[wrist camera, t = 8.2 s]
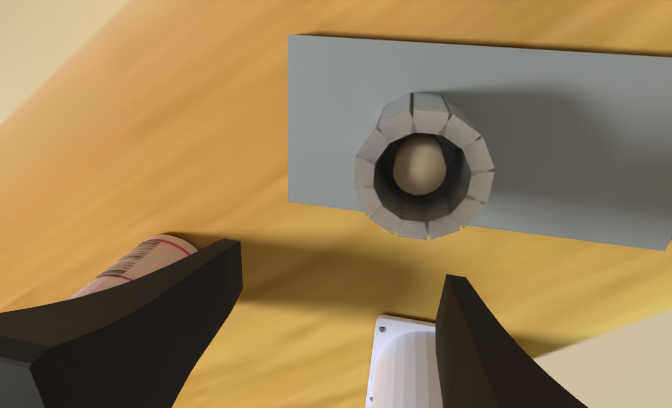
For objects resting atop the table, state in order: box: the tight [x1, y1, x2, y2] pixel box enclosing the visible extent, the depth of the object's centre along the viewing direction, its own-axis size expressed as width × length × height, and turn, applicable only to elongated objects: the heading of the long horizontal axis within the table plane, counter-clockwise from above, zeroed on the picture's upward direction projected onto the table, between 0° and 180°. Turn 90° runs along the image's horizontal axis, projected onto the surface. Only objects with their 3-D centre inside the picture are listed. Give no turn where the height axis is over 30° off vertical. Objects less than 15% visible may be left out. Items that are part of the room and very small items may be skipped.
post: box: [393, 132, 446, 195], centre depth 17 cm, size 2×2×4 cm
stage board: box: [288, 35, 672, 251], centre depth 19 cm, size 9×20×1 cm, turn 87°
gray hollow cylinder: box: [353, 92, 495, 240], centre depth 17 cm, size 5×5×5 cm
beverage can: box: [67, 234, 198, 300], centre depth 20 cm, size 6×6×15 cm
